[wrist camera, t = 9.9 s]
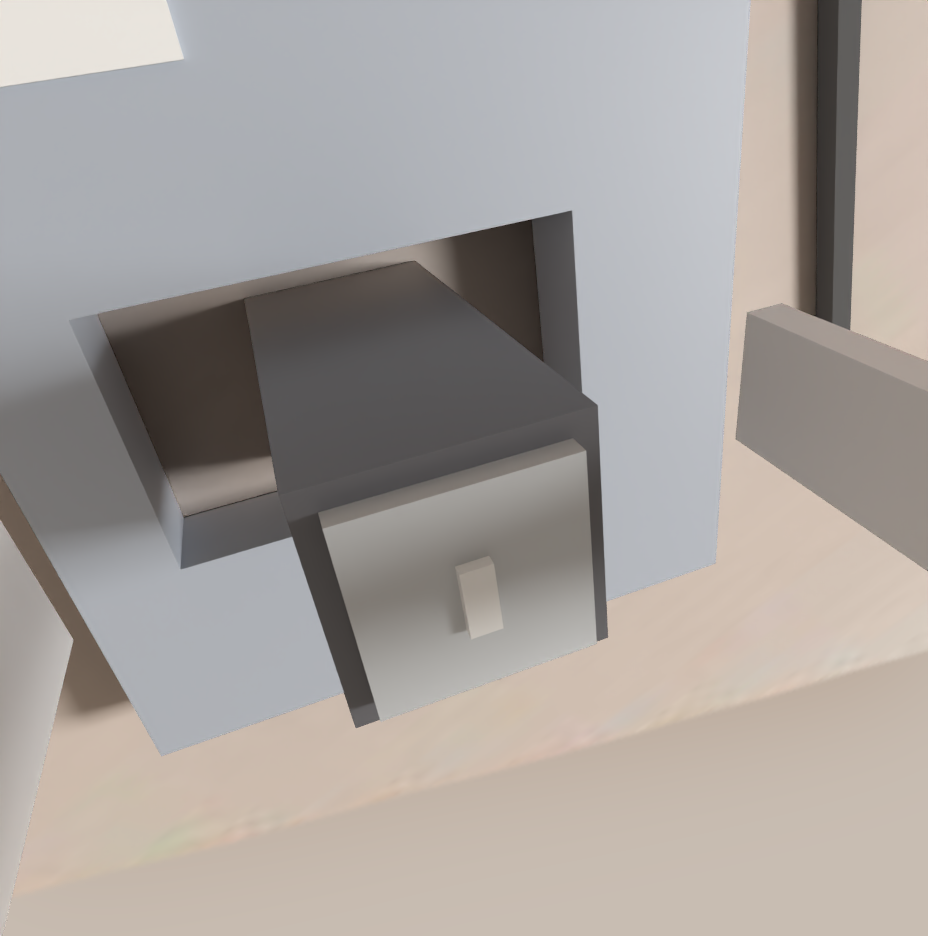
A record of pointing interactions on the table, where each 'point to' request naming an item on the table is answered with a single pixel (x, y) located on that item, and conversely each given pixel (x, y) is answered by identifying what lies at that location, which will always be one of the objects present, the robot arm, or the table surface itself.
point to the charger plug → (429, 486)
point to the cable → (836, 155)
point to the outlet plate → (339, 238)
